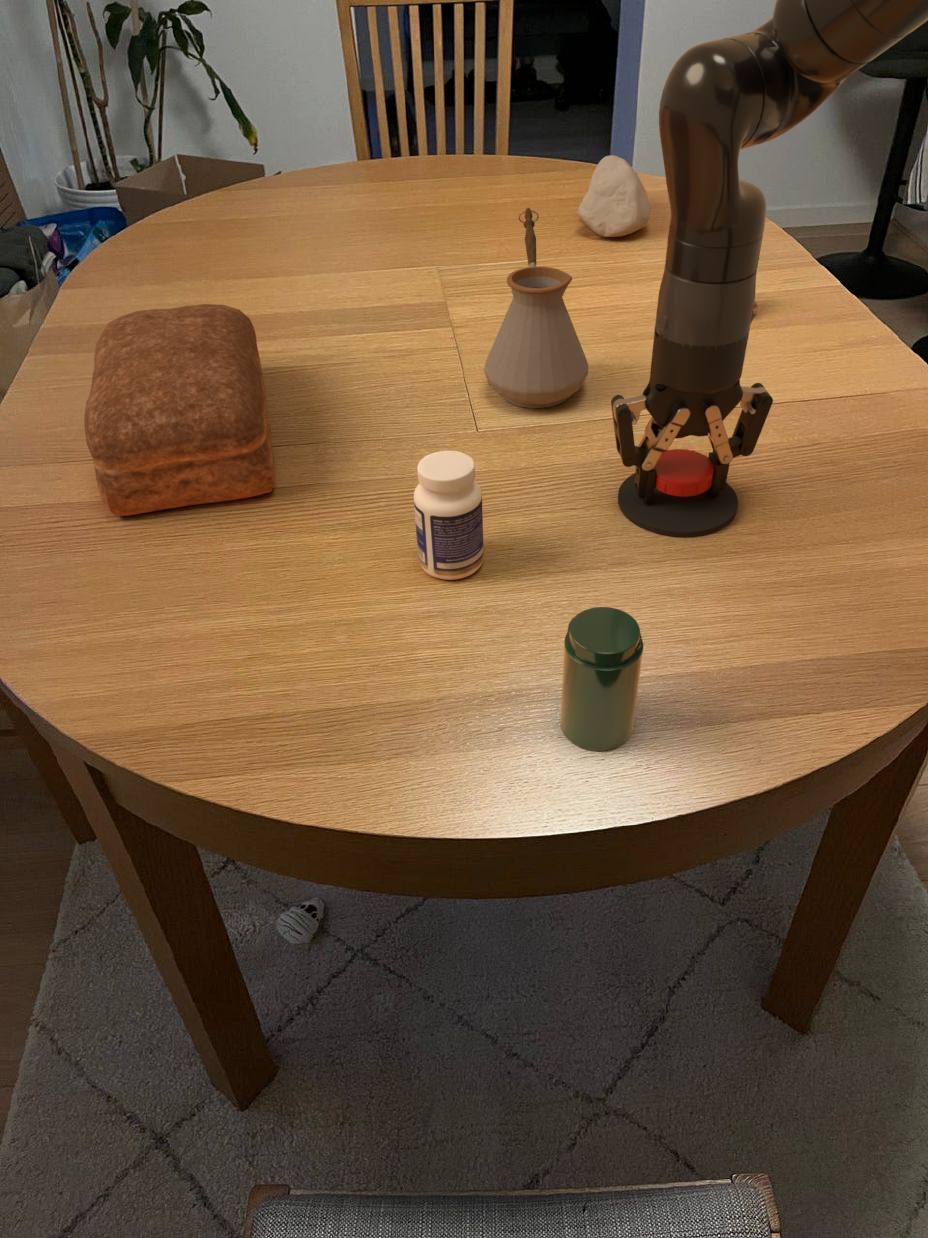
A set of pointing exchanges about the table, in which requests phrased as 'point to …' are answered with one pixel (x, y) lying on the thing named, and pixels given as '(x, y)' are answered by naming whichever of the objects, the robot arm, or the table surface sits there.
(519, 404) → the coffee pot
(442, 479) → the pill bottle
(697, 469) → the lid
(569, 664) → the jar
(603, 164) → the decorative stone
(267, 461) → the bread
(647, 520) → the coaster
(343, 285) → the table surface
